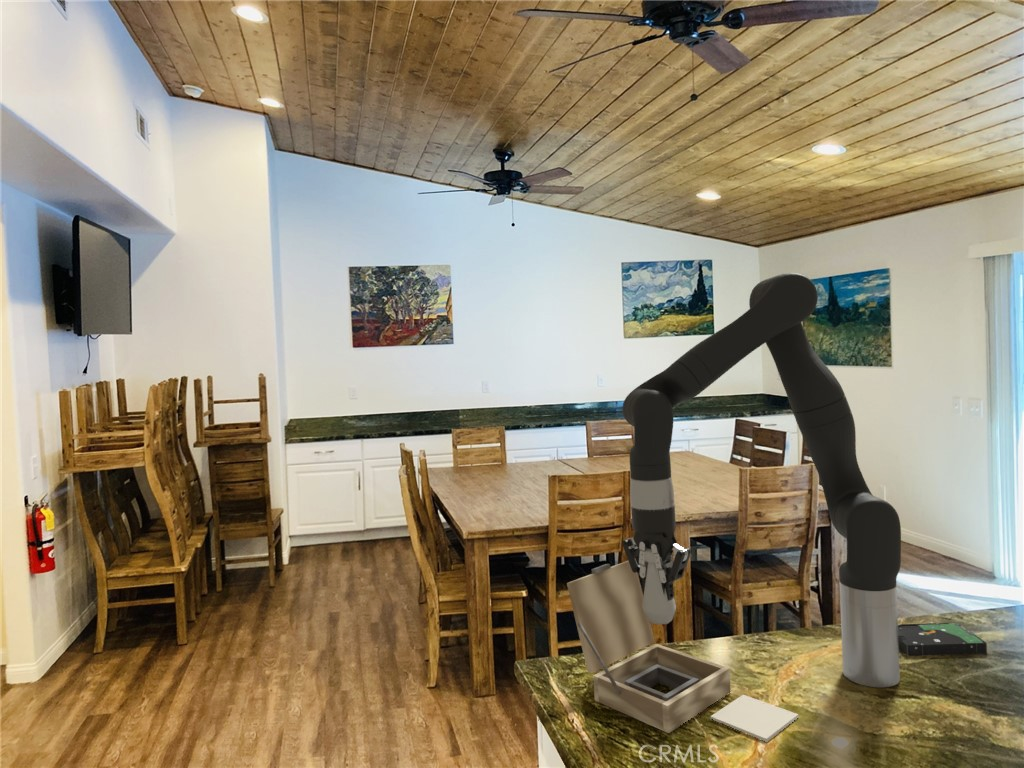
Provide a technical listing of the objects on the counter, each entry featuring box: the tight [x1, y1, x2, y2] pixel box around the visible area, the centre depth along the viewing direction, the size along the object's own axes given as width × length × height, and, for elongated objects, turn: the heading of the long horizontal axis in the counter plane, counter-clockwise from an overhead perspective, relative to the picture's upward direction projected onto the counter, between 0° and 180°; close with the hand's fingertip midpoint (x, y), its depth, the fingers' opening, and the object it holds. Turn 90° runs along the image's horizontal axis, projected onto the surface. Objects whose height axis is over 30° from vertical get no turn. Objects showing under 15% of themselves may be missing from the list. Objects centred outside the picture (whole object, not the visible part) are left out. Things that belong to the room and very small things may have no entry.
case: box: [576, 622, 732, 734], centre depth 126 cm, size 19×18×14 cm
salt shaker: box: [642, 549, 677, 625], centre depth 125 cm, size 6×6×13 cm
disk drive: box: [898, 622, 988, 657], centre depth 140 cm, size 10×3×15 cm
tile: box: [710, 694, 799, 743], centre depth 117 cm, size 10×10×1 cm
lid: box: [566, 560, 656, 674], centre depth 133 cm, size 18×17×1 cm
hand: (658, 599), depth 125 cm, fingers closed on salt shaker, 3 cm apart
